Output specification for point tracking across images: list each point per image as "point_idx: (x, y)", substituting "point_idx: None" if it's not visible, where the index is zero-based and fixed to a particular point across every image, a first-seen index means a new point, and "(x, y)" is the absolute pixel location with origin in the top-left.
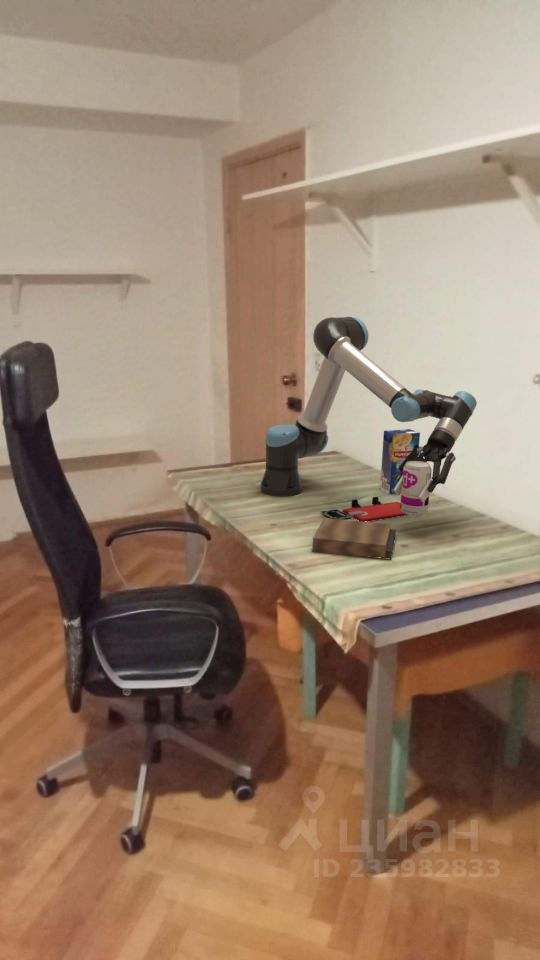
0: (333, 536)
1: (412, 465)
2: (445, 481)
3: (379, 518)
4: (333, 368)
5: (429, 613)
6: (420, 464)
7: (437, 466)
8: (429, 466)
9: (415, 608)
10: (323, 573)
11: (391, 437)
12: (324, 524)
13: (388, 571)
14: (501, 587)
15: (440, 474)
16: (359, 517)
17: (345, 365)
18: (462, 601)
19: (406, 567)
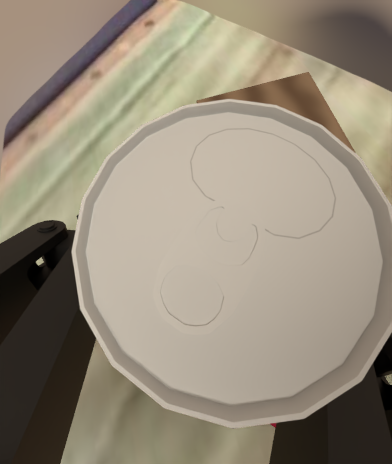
0: (285, 91)
1: (263, 149)
2: (45, 268)
3: None
4: None
5: (107, 31)
6: (203, 252)
7: (5, 348)
8: (83, 235)
9: (122, 33)
10: (242, 52)
11: None
12: (334, 130)
13: (178, 92)
14: (40, 118)
15: (30, 246)
16: None
17: None
18: (80, 66)
19: (161, 113)
